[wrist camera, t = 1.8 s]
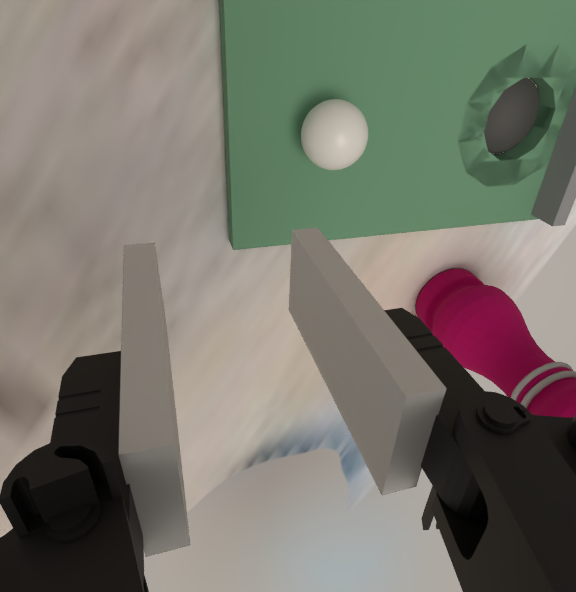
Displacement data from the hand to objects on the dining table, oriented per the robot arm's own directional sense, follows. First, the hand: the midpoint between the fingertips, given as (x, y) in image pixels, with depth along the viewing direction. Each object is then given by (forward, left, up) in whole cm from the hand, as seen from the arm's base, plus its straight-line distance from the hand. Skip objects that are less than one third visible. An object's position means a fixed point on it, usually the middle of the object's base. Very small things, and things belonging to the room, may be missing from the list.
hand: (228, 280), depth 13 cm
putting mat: (+17, 0, -19) cm, 25 cm away
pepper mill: (+23, -16, -19) cm, 34 cm away
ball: (+9, 0, -15) cm, 18 cm away
